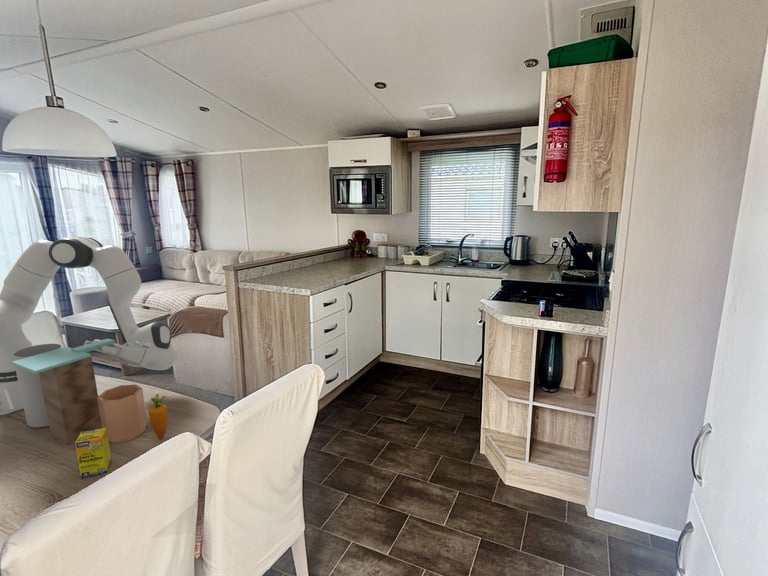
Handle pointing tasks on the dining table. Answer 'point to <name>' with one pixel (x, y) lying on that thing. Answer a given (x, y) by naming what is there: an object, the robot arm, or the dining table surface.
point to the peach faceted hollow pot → (122, 412)
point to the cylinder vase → (33, 386)
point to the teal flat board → (59, 357)
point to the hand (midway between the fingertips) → (93, 345)
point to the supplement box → (93, 452)
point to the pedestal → (71, 399)
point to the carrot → (158, 417)
